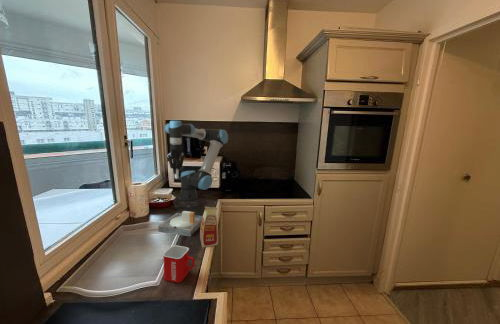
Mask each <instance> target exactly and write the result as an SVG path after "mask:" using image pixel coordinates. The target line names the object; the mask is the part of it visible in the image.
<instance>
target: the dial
mask: <svg viewBox="0 0 500 324" xmlns="http://www.w3.org/2000/svg"><path fill="white" fill-rule="evenodd" d="M181 213H182V216H179V217H175V218H173V219H172V220H171V221H170V226H171V227H175V226H176V227H178V228H189V227H192V226H193V225H194V224H195V222H196V219H195V215H196V214H195V212H194V211H188V210H183V211H181Z"/></svg>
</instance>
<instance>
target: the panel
mask: <svg viewBox="0 0 500 324" xmlns="http://www.w3.org/2000/svg"><path fill="white" fill-rule="evenodd" d="M179 216H182V212H176V213H175V214H173V215H172V216H170V217H168V218H167V219H165V220H164V221H163V222H162V223H160V224H159V225H158V226H157V229H158V233H164V234H165V233H166V234H170V235H177V234H178V235H177V236H184V237H192V236H193V235H194V234H195V233H196V232H197V231H198V229H200V227H201V220H202V217H203V215H199V214H197V215H196V214H195V219H196V222H195V224H194V225H193V226H192V227H189V228H178V227H176V226H175V227H171V226H170V221H171V220H172V219H173V218H175V217H179Z"/></svg>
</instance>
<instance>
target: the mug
mask: <svg viewBox="0 0 500 324" xmlns="http://www.w3.org/2000/svg"><path fill="white" fill-rule="evenodd" d="M189 251H190V248H189V247H186V246H184V245H182V246H181V245H171V246H170V247H169V248H168V249H167V250H166V251H164V252H163V253H162V256H163V278H164V281H168V282H172V283H175V284H176V283H181V282H182V281H183V280H184V279H185V278H186V277H187V276H188V274H189V271H190V270H192V269H193V268H194V267H195V258H194V257H192V256H189ZM189 260H191V266H190V265H189V264H190V263H189Z"/></svg>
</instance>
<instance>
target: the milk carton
mask: <svg viewBox="0 0 500 324" xmlns="http://www.w3.org/2000/svg"><path fill="white" fill-rule="evenodd" d="M218 209H219V207H211V206H210V207H209V206H204V210H203V211H204V212H203V214H202V216H203V217H202V220H201V226H200V227H199V240H200V243H201V247H202V249H203V248H209V247H212V246H213V247H214V246H217V245H219V227H218V226H219V225H218V215H217V212H218V211H217V210H218Z"/></svg>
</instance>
